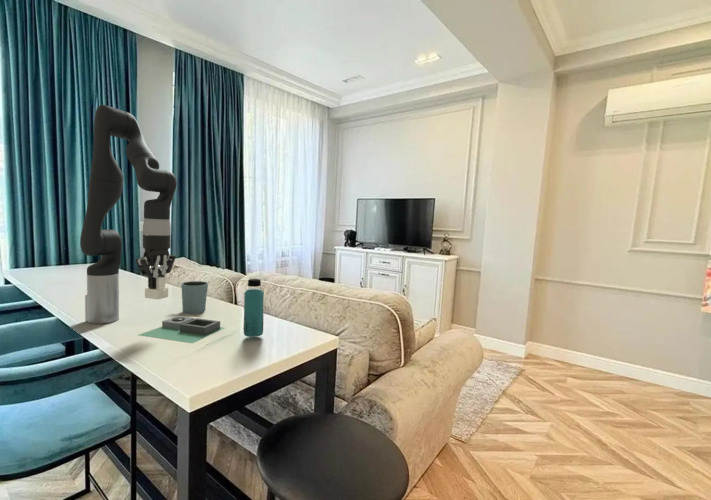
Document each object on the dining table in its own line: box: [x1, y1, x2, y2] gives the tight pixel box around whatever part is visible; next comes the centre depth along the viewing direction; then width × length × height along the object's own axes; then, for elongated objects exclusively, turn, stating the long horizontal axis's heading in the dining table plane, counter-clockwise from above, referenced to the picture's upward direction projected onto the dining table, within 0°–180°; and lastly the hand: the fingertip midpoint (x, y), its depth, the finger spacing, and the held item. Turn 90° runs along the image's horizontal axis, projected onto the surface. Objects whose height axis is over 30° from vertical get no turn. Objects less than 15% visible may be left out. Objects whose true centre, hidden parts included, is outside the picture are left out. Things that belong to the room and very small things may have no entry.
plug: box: [144, 275, 169, 300], centre depth 106 cm, size 6×4×6 cm
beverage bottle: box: [242, 278, 265, 338], centre depth 111 cm, size 6×7×20 cm
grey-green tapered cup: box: [180, 280, 209, 315], centre depth 139 cm, size 10×10×12 cm
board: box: [138, 315, 225, 344], centre depth 110 cm, size 20×16×4 cm
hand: (156, 287), depth 106 cm, fingers closed on plug, 2 cm apart
